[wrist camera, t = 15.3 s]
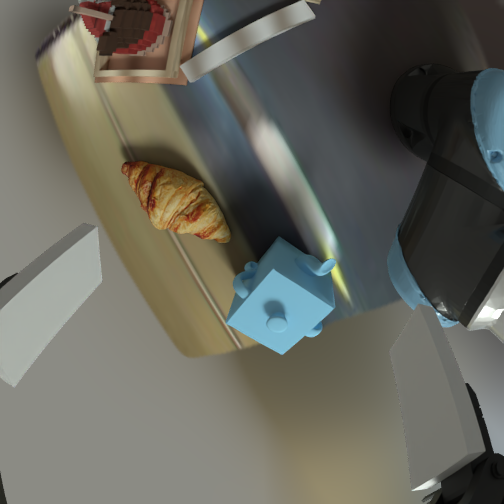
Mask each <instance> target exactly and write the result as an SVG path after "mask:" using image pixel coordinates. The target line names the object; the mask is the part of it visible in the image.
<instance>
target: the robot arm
mask: <svg viewBox="0 0 504 504" xmlns="http://www.w3.org/2000/svg"><path fill="white" fill-rule="evenodd" d="M390 113H391V119H392V123H393V126H394V129H395V131H396V134H397V135H398V137H399V139H400V140H401V142H402V143H403V144H404V146H405V147H406V148H407V149H408V150H409V151H410V152H412V153H413V154H414V155H416V156H417V157H419V158H421V159H423V160H425V161H427V164H426V166H425V169H424V172H423V174H422V177H421V179H420V181H419V184H418V186H417V189H416V191H415V193H414V196H413V198H412V200H411V203H410V205H409V207H408V209H407V211H406V214H405V216H404V218H403V220H402V222H401V224H399V226H398V228H397V230H396V237H395V239H394V242H393V244H392V246H391V249H390V251H389V254H388V258H387V264H388V272H389V276H390V278H391V281H392V283H393V285H394V287H395V288H396V290H397V292H398V293H399V294H400V296H401V297H402V298H403V300H404V301H405V302H406V303H407V304H408V305H409V306H410V307H411V308H412V309H413V310H414V312H413V313H412V315H411V317H410V319H409V320H408V322H407V324H406V325H405V327H404V328H403V330H402V332H401V333H400V335H399V337H398V338H397V340H396V341H395V343H394V345H393V346H392V348H391V349H390V351H389V354H390V358H391V363H392V367H393V371H394V377H395V381H396V386H397V391H398V397H399V401H400V407H401V413H402V419H403V425H404V432H405V438H406V446H407V453H408V461H409V471H410V480H411V491H413V490H421V489H429V488H431V487H432V486H434V485H436V484H437V483H439V482H441V487H442V488H440V489H438V490H437V491H435V492H433V493H431V494H429V495H427V496H426V497H425V498H424V499H423V500H422V501H423V502H425V501H427V500H429V499H431V498H432V500H431V501H430V502H428V503H427V504H504V456H503V455H501V454H499V453H494V451H493V448H492V445H491V441H490V437H489V434H488V430H487V427H486V424H485V421H484V418H482V416H483V414H482V411H481V408H479V406H480V405H479V402H478V399H477V397H476V394H475V392H474V391H473V389H472V388H471V387H470V385H469V384H468V383H465V382H464V379H463V377H462V374H461V371H460V369H459V366H458V363H457V361H456V358H455V356H454V353H453V351H452V349H451V346H450V344H449V342H448V339H447V337H446V335H445V333H444V330H443V328H442V327H451V326H453V325H455V324H457V323H459V322H460V323H461V324H462V325H464V326H465V327H466V328H467V329H468V330H477V329H484V328H485V329H489V330H490V331H491V332H492V333H494V334H495V335H496V336H497V337H498V338H499V339H500V340H501V341H502V342H503V343H504V70H499V69H497V68H489V69H485V70H480V71H468V72H457V71H455V70H453V69H451V68H449V67H446V66H443V65H439V64H424V65H420V66H416V67H413V68H411V69H409V70H408V71H406V72H405V73H404V74H403V75H402V76H401V77H400V78H399V79H398V81H397V82H396V84H395V86H394V89H393V91H392V95H391V101H390ZM101 282H102V274H101V263H100V253H99V240H98V226H94V225H90V224H86V223H83V224H81V225H80V226H78V227H77V228H76V229H74V230H73V231H72V232H70V233H69V234H67V235H66V236H65V237H63V238H62V239H61V240H59V241H58V242H57V243H56V244H54V245H53V246H52V247H50V248H49V249H48V250H46V251H45V252H44V253H43V254H41V255H40V256H39V257H38V258H36V259H35V260H34V261H33V262H31V263H30V264H29V265H28V266H26V267H25V268H24V269H23V270H22V271H21V272H19V273H16V274H14V275H12V276H10V277H8V278H6V279H5V280H3V281H2V282H1V283H0V378H2V379H3V380H4V381H6V382H7V383H8V384H10V385H11V386H13V387H15V386H16V384H17V383H18V382H19V381H20V379H21V378H22V376H23V375H24V374H25V372H26V371H27V370H28V369H29V367H30V366H31V365H32V363H33V362H34V361H35V359H36V358H37V357H38V355H39V354H40V353H41V352H42V351H43V349H44V348H45V347H46V346H47V344H48V343H49V342H50V341H51V339H52V338H53V337H54V336H55V335H56V333H57V332H58V331H59V330H60V328H61V327H62V326H63V325H64V324H65V323H66V321H67V320H68V319H69V318H70V317H71V316H72V315H73V313H74V312H75V311H76V310H77V309H78V308H79V307H80V305H81V304H82V303H83V302H84V301H85V300H86V299H87V298H88V297H89V295H90V294H91V293H92V292H93V291H94V290H95V289H96V288H97V287H98V286H99V284H100V283H101ZM0 504H7V501H6V497H5V493H4V489H3V484H2V479H1V473H0Z"/></svg>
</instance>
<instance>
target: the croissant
mask: <svg viewBox="0 0 504 504" xmlns="http://www.w3.org/2000/svg"><path fill="white" fill-rule="evenodd" d="M121 171H122V173H123V174H125V175H126V176H127V177H128V178H129V179H128V180H129V184H130V186H131V187H132V190H134V192H135V193H136V195H137V197H138V198H139V200H140V202H141V207H142V209H143V210H145V211H146V213H147V214H148V216H149V219H150V221H151V223H152V225H154V227H156V228H157V229H160V230H161V229H166V228H169V229H170V230H171V231H173V232H177V233H180V234H183V233H190V234H194V235H196V236H198V237H200V238H201V239H211V240H212V239H215V240H216V241H217V242H219V243H226V242H229V241H230V238H231V233H230V230H229V227H228V226H227V224H226V221H225V218H224V215H223V213H222V211H221V210H220V209H219V206H218V204H217V203H216V201H215V200H214V198H213V197H212V196H211V195H210V194H209V192H208V191H207V190H206V189H205V188H204V187H203V186H204V183H203V182H202V181H200V180H197V179H195V178H193V177H191V176H188V175H186V174H185V173H183V172H181V171H178V170H175V169H172V168H166V167H163V166H160V165H155V164H149V163H147V162H144V161H136V162H125V163H124V164H123V165H122V168H121Z"/></svg>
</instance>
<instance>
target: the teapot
mask: <svg viewBox="0 0 504 504" xmlns="http://www.w3.org/2000/svg"><path fill="white" fill-rule="evenodd" d="M335 264H336V260H335V259H328V260H326V261H324V262H323V263H321V262H320V261H319V260H318V259H317V258H315V257H314V256H311V255H306V254H305V253H303V252H302V251H300V250H299V249H297V248H296V247H294V246H293V245H291V244H290V243H288V242H287V241H285V240H284V239H282V238H281V237H280V236H278V238H277V239H276V240H275V241H274V242H273V244H272V245H271V246H270V247H269V249H268V250H267V251H266V252H265V254H264V255H263V256H262V257H261V259H260V260H259V261H258V262H257V263H255V262H253V261H250V262H248V263H247V264H246V265H245V267H244V269H245V271H244V272H241V273H239V274H238V275H237V276H236V277H235V278H234V280H233V287H234V289H235V291H236V293H235V296H234V299H233V302H232V305H231V308H230V311H229V314H228V317H227V320H226V324H228V325H230V326H232V327H233V328H235V329H237V330H238V331H240V332H242V333H243V334H245V335H247V336H249V337H250V338H252V339H254V340H256V341H258V342H259V343H261V344H263V345H265V346H267V347H269V348H270V349H272V350H274V351H276V352H278V353H280V354H281V355H282V354H283V353H285V352H286V351H287V350H289V349H290V348H291V347H292V346H293V345H294V344H296V343H297V342H298V341H299V340H300V339H301V338H303V337H304V336H307V337H314V336H316V335H318V334H319V333H320V332H321V330H322V323H321V320H322V319H323V318H325V317H326V316H327V315H328V314H329V313H330V312H331V311H332V310H333V309H334V308H335V302H334V293H333V285H332V276H331V270H332V269H333V267H334V266H335ZM242 280H243V281H242Z"/></svg>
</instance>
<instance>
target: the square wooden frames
mask: <svg viewBox="0 0 504 504" xmlns="http://www.w3.org/2000/svg"><path fill="white" fill-rule="evenodd" d="M155 1H157V2H158V4H159V5H164V6H165V9H168V12H169V13H171V16H170V20H172V21H173V24H172V28H171V32H170V36H169V37H165V40H164V45H161V44H160V45H159V48H155V50H154V52H146V56H129V54H116V53H113V54H112V56H99V51H97V56H96V62H95V69H94V76H93V77H95V83H98V82H141V83H164V84H178V85H187V81H188V80H189V82H194V81H196V80H198V79H199V78H201V77H202V76H204V75H205V74H207V73H209V72H210V71H212V70H214V69H215V68H217V67H219V66H220V65H222V64H224V63H225V62H227V61H229V60H231V59H232V58H234V57H236V56H238V55H239V54H241V53H243V52H245V51H247V50H249V49H251V48H252V47H254V46H256V45H258V44H260V43H262V42H264V41H266V40H268V39H270V38H272V37H274V36H276V35H278V34H281V33H283V32H285V31H287V30H289V29H291V28H294V27H296V26H298V25H301V24H303V23H305V22H308V21H310V20H312V19H315V15H314V13H313V12H312V10H311V9H310V7H309V6H308V5H307V3H306V2H305V1H307V2H312V3H317V4H320V1H321V0H302V1H299V2H297V3H294V4H292V5H290V6H287V7H285V8H283V9H280V10H278V11H276V12H274V13H272V14H270V15H268V16H265V17H263V18H261V19H259V20H257V21H255V22H253V23H251V24H249V25H248V26H246V27H244V28H242V29H240V30H238V31H236V32H234V33H233V34H231V35H229V36H227V37H226V38H224V39H222V40H220V41H219V42H217V43H215V44H214V45H212V46H210V47H209V48H207V49H205V50H204V51H202V52H201V53H199V54H197V55H196V56H194V57H193V58H192V53H193V48H194V43H195V38H196V33H197V29H198V24H199V20H200V15H201V11H202V6H203V2H204V0H155Z"/></svg>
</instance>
